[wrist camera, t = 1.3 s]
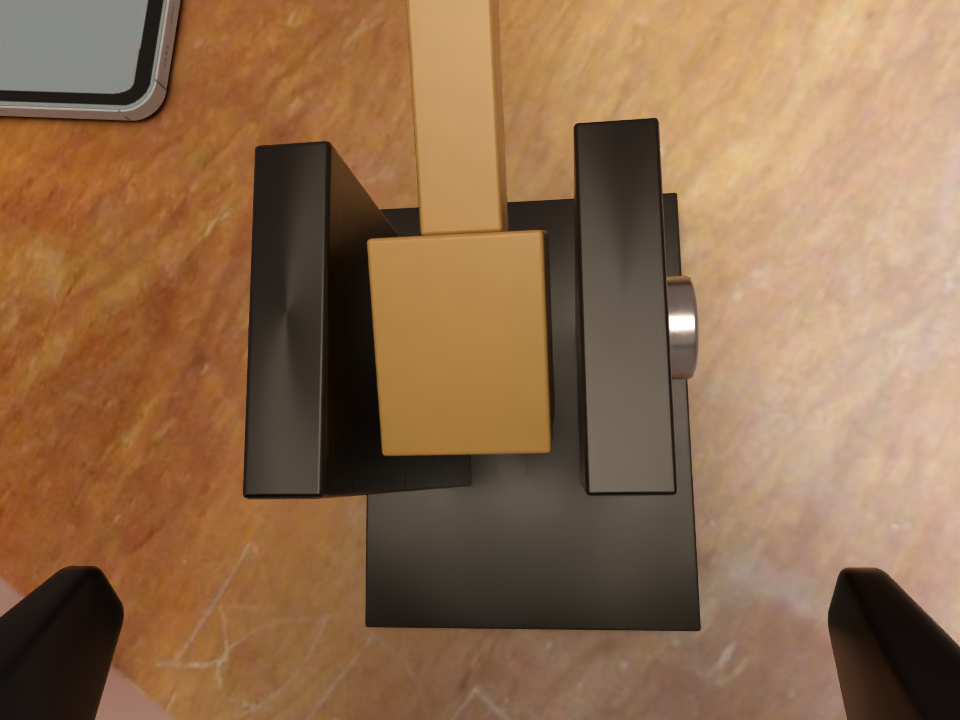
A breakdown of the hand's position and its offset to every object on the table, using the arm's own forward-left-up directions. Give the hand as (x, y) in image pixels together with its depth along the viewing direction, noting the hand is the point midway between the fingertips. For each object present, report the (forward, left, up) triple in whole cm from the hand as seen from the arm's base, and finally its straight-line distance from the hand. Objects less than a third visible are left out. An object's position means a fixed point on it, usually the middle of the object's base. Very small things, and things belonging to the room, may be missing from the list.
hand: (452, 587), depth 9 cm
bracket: (+3, -1, -13) cm, 13 cm away
